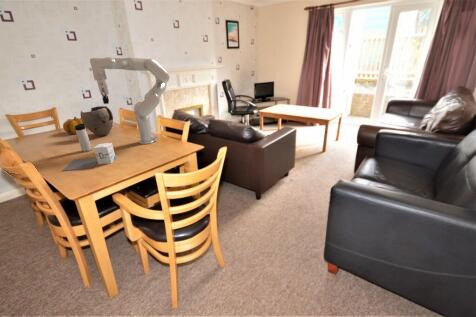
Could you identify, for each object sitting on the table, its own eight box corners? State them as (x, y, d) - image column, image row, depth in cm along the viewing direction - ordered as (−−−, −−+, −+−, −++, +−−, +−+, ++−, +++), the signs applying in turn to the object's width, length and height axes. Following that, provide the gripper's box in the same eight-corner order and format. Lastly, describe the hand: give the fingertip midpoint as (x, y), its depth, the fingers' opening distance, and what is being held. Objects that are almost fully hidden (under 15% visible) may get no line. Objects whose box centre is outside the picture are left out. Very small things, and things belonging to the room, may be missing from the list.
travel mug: (94, 149, 182) (86, 123, 174) (86, 152, 176) (78, 126, 168) (88, 148, 184) (80, 123, 176) (80, 151, 178) (72, 125, 170)
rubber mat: (102, 157, 166) (102, 156, 166) (93, 167, 150) (93, 167, 149) (74, 159, 163) (74, 159, 163) (61, 171, 147) (61, 170, 147)
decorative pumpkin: (76, 129, 240) (71, 114, 234) (96, 129, 236) (92, 114, 231) (59, 135, 221) (54, 119, 215) (81, 135, 218) (76, 119, 212)
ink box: (103, 159, 162) (99, 143, 158) (116, 158, 163) (112, 142, 158) (97, 164, 154) (92, 147, 150) (111, 163, 155) (106, 146, 150)
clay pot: (122, 133, 219) (115, 106, 209) (96, 141, 200) (87, 111, 191) (107, 130, 231) (100, 104, 221) (81, 137, 213) (72, 109, 203)
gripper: (106, 77, 158) (112, 104, 165) (106, 76, 173) (112, 100, 179) (93, 78, 155) (100, 105, 162) (94, 77, 170) (101, 101, 176)
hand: (106, 102), depth 171 cm, fingers open, 9 cm apart
